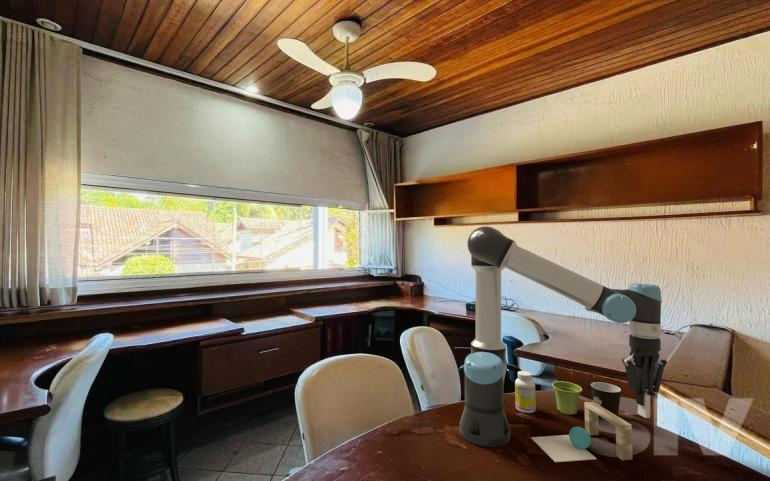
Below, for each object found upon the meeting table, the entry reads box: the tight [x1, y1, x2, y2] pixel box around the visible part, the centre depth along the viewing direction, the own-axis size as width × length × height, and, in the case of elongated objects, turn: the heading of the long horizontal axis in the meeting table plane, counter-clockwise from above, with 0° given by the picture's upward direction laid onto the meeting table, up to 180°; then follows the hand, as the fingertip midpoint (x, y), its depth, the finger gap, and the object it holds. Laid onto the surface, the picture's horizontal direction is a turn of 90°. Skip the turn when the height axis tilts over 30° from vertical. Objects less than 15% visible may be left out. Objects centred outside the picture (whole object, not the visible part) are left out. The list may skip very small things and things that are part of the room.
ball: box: [568, 426, 592, 449], centre depth 98 cm, size 6×6×6 cm
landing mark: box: [530, 434, 598, 463], centre depth 98 cm, size 12×12×1 cm
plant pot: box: [551, 380, 583, 416], centre depth 120 cm, size 9×9×9 cm
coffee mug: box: [586, 381, 622, 422], centre depth 118 cm, size 12×9×10 cm
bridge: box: [583, 401, 634, 461], centre depth 99 cm, size 3×14×9 cm, turn 6°
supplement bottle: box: [514, 370, 536, 414], centre depth 122 cm, size 7×7×13 cm
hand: (643, 415), depth 101 cm, fingers closed
